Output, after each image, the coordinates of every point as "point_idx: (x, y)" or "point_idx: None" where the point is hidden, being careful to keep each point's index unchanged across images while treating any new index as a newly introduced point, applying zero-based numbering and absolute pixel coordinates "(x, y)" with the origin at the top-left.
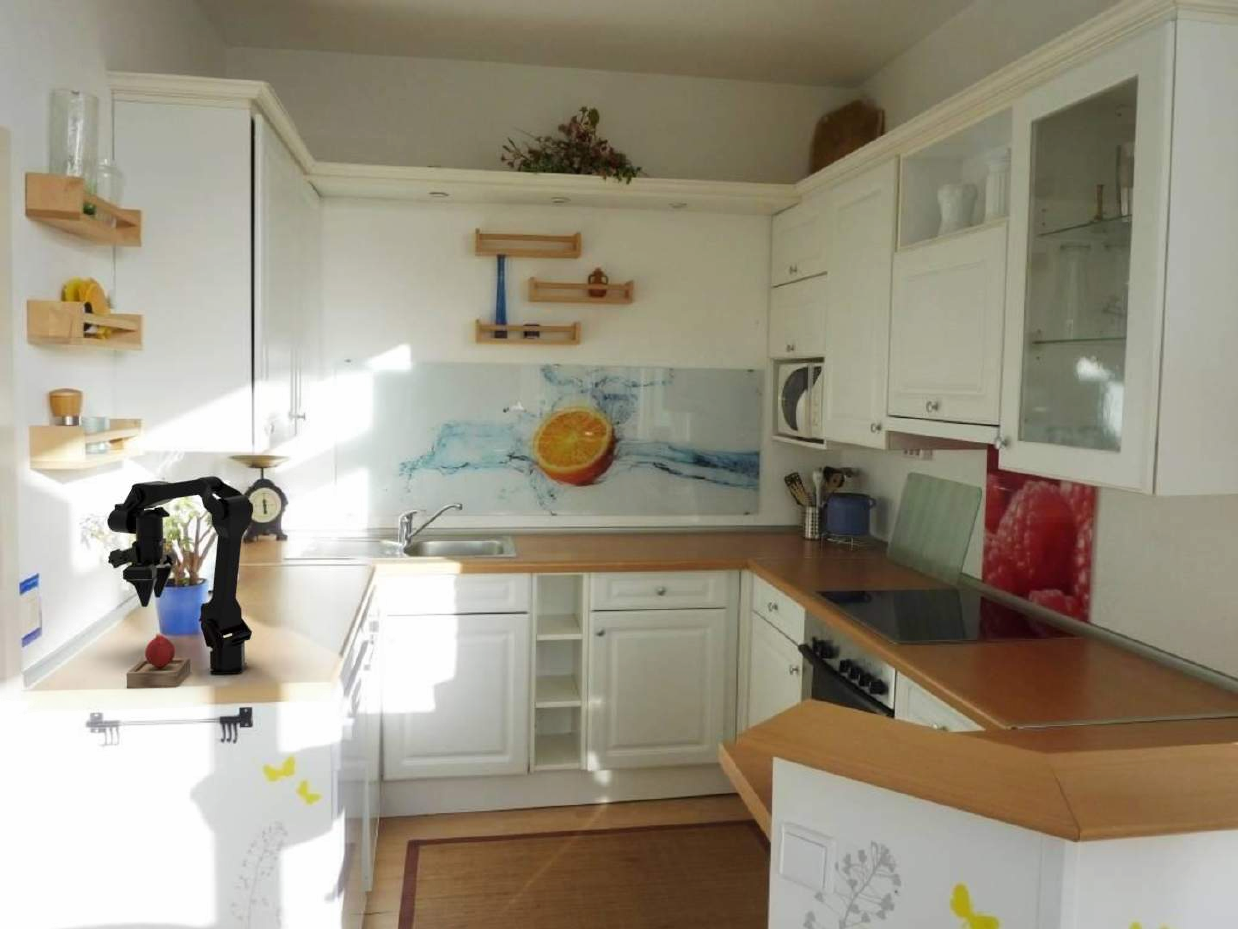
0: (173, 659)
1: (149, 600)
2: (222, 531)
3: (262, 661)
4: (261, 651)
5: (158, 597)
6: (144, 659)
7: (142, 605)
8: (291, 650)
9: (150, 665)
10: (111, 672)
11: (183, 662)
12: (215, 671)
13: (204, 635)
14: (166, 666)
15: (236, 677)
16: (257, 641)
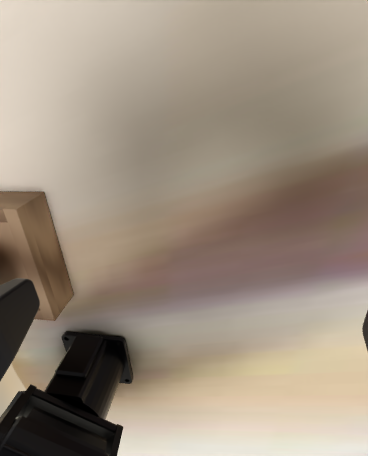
0: (36, 288)
1: (10, 356)
2: None
3: (165, 397)
4: (242, 395)
5: (366, 319)
6: (15, 215)
7: (9, 287)
8: (243, 433)
9: (6, 233)
10: (33, 87)
11: None
12: (68, 342)
13: (8, 412)
14: (11, 272)
15: None
16: (340, 387)
